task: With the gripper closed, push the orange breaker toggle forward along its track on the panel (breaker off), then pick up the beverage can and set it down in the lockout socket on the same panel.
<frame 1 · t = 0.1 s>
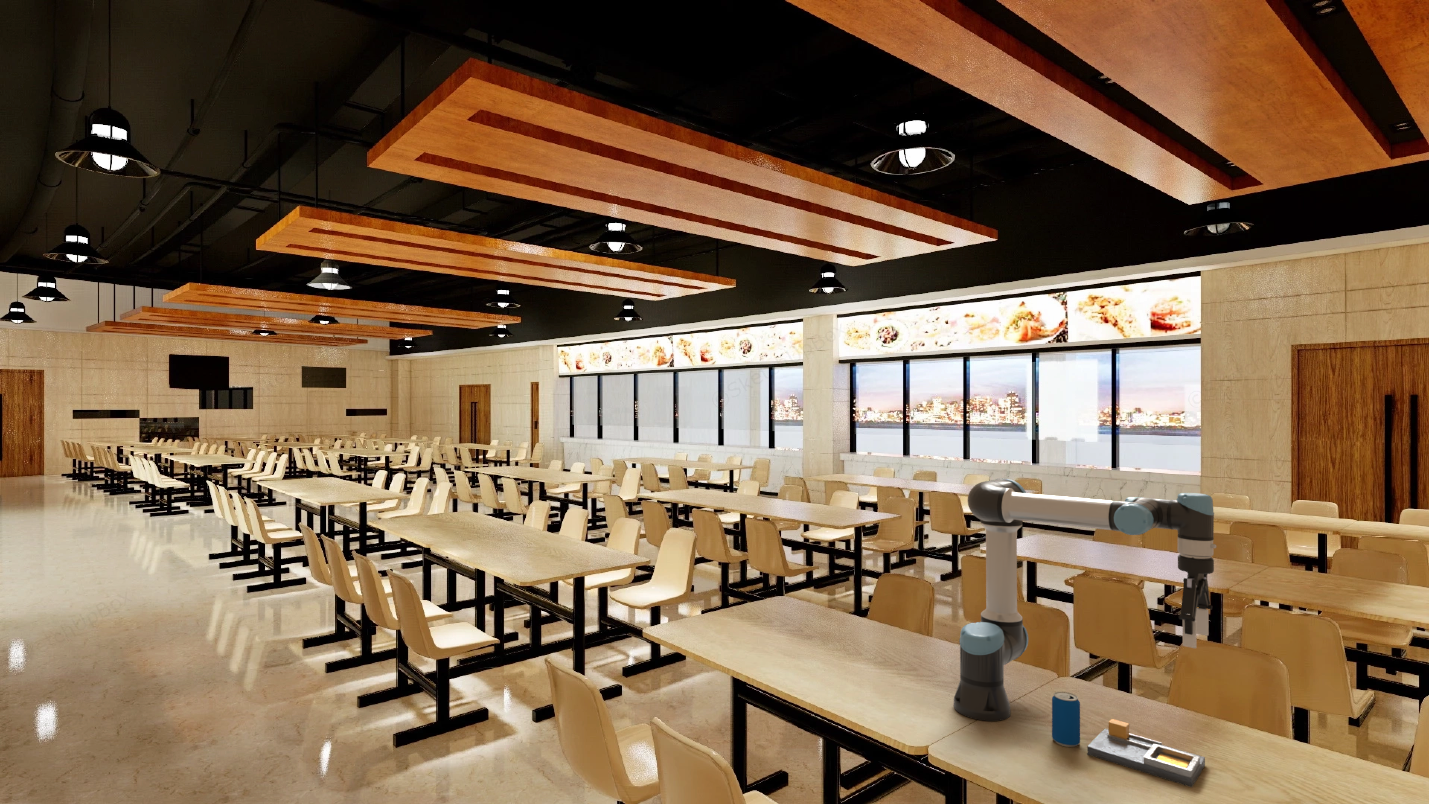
hand: (1195, 640, 179), 28 cm above the table, fingers open, 13 cm apart
beverage can: (1066, 743, 184), on the table
panel: (1145, 759, 175), on the table
breaker: (1118, 729, 183), point 4 cm above the table, slide at 0.0 cm
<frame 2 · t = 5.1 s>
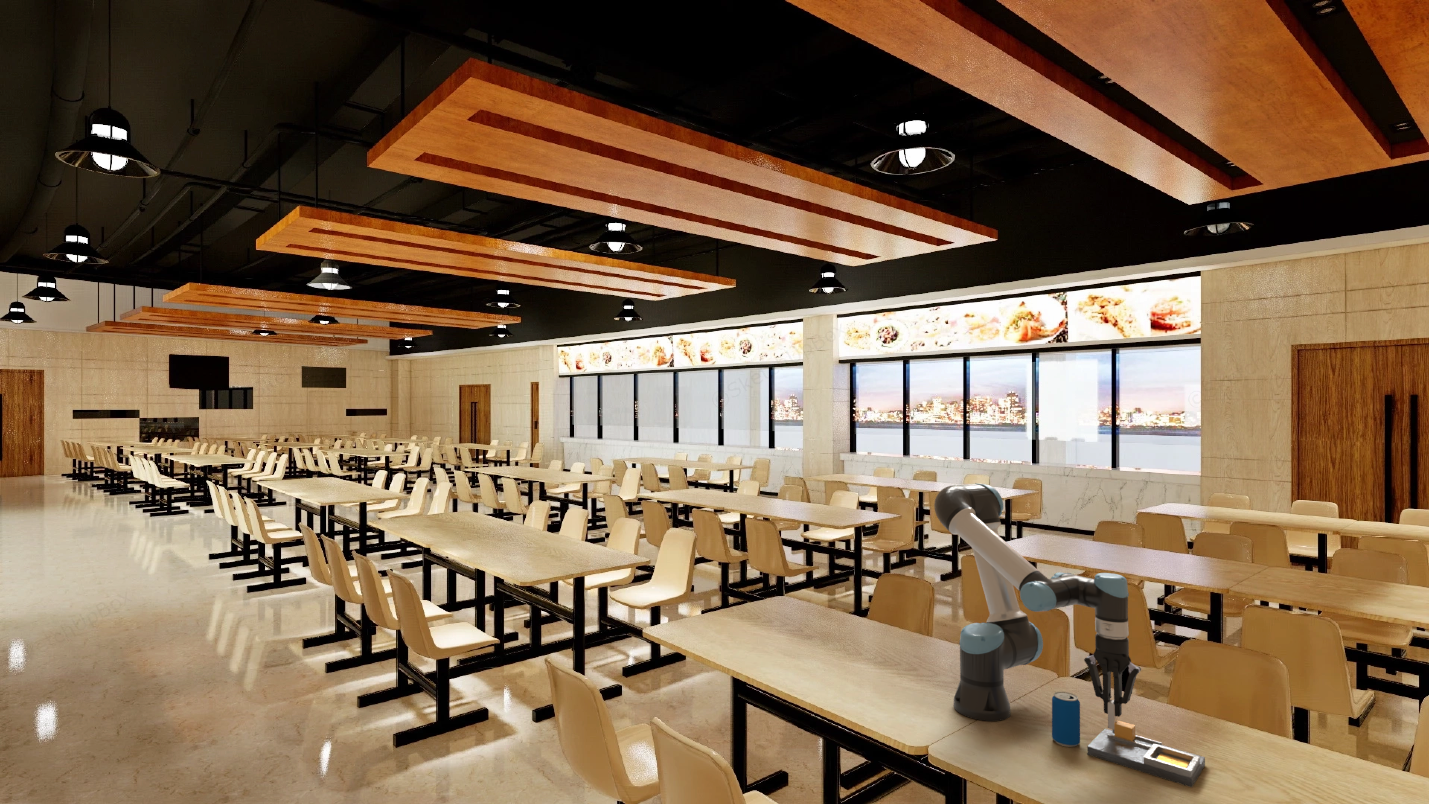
hand: (1112, 727, 184), 4 cm above the table, fingers closed
breaker: (1124, 730, 182), point 4 cm above the table, slide at 1.4 cm, touching gripper
everything else where it was.
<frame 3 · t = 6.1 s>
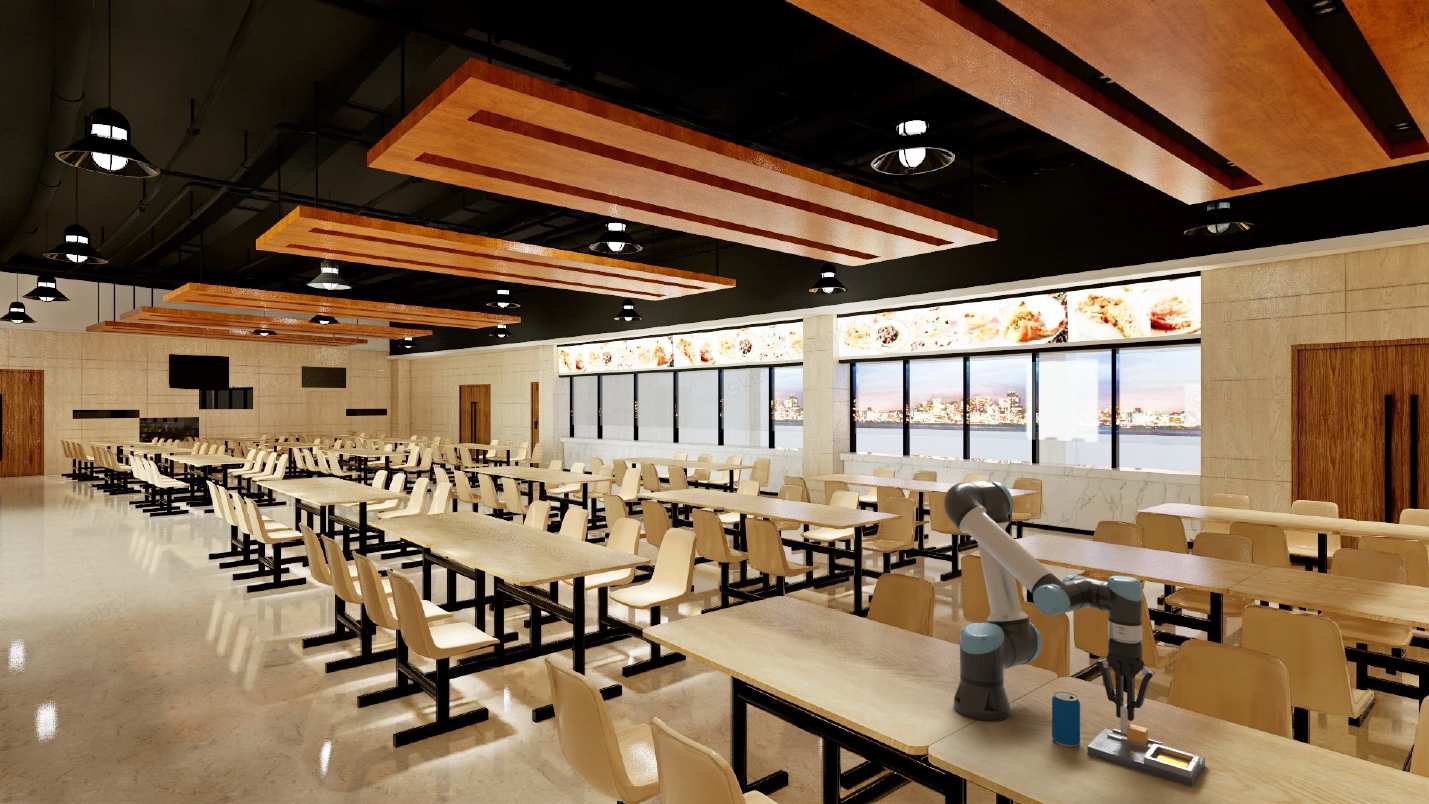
hand: (1125, 731, 182), 4 cm above the table, fingers closed
breaker: (1137, 734, 180), point 4 cm above the table, slide at 4.2 cm, touching gripper
everything else where it was.
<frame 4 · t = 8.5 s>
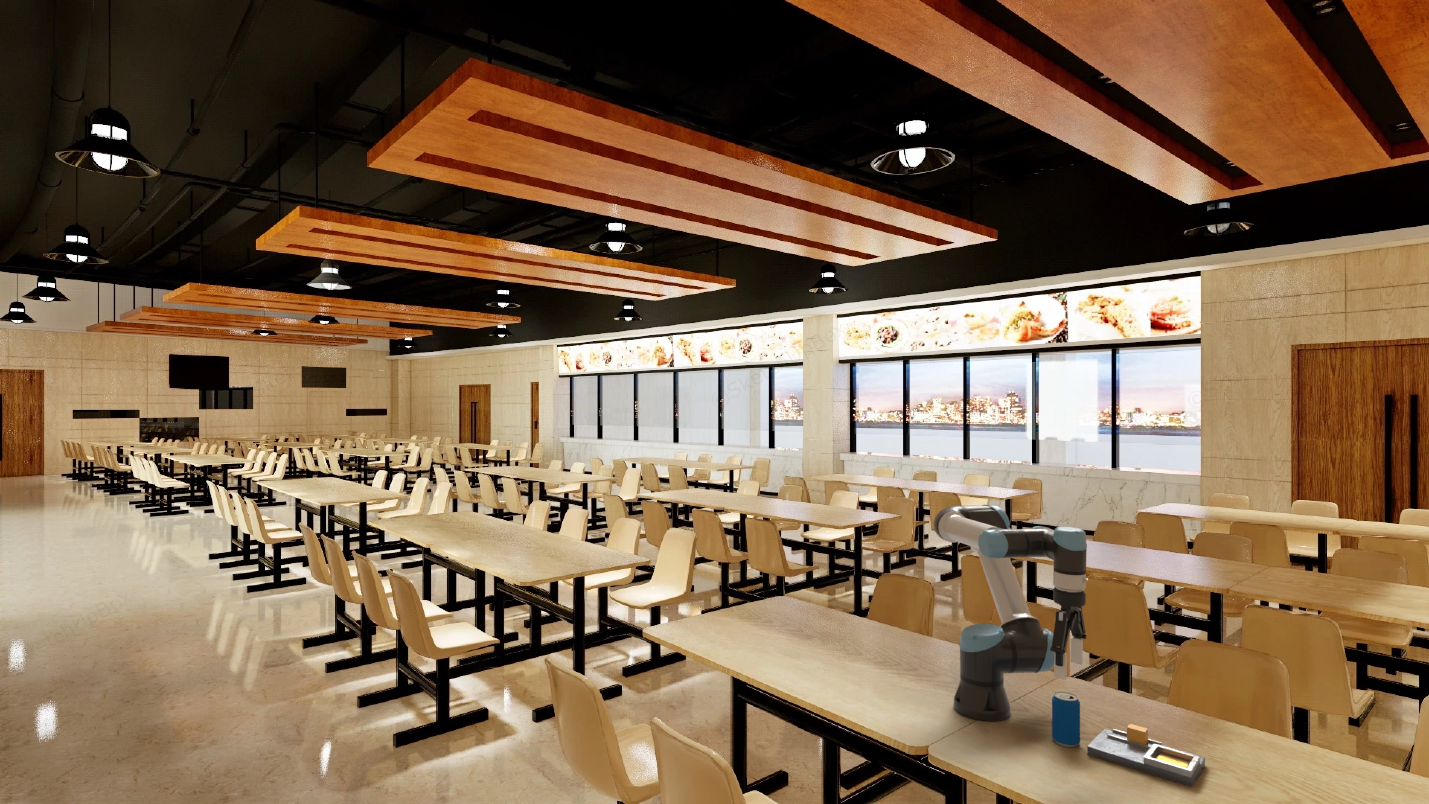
hand: (1068, 670, 184), 18 cm above the table, fingers open, 13 cm apart
breaker: (1137, 734, 180), point 4 cm above the table, slide at 4.2 cm
everything else where it was.
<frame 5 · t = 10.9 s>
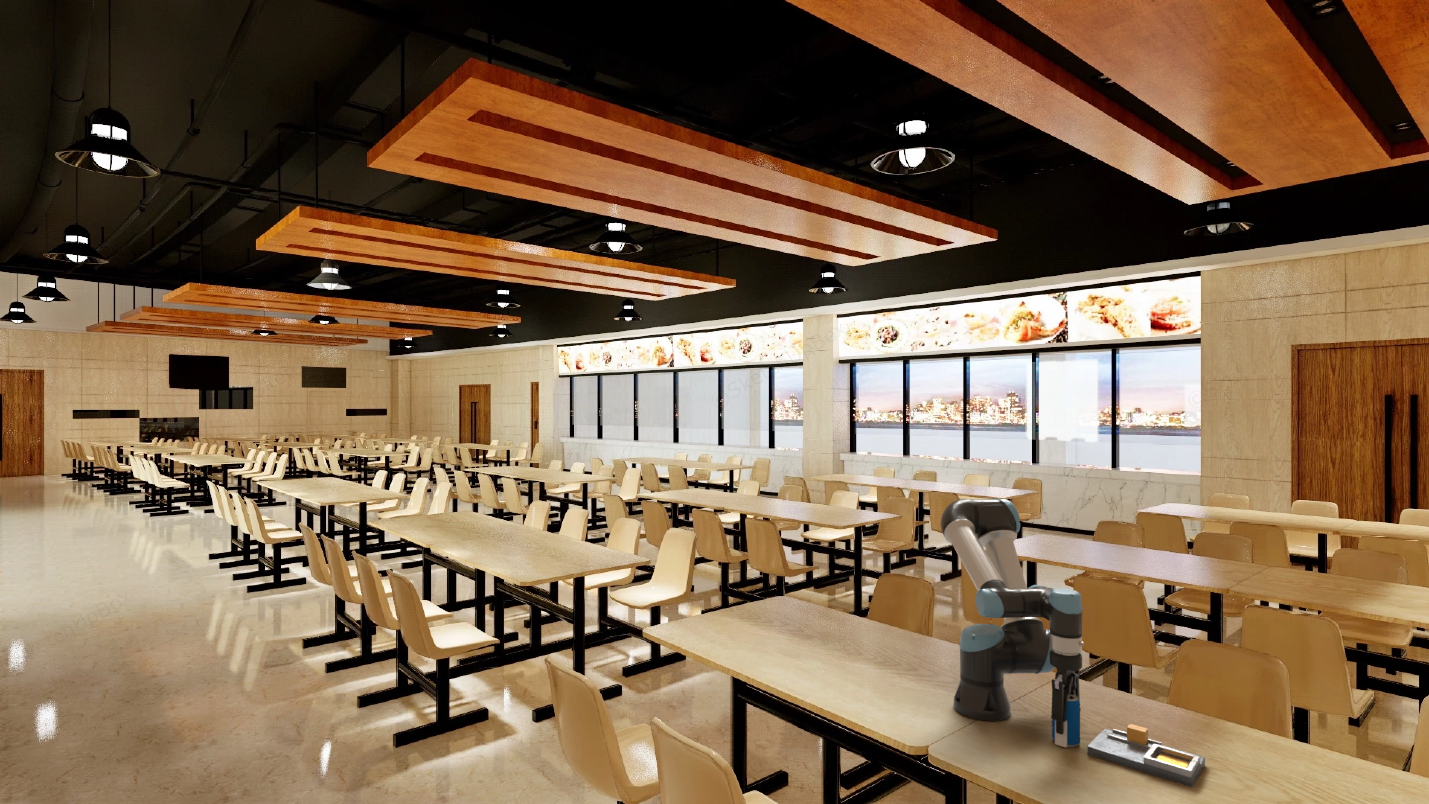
hand: (1065, 740, 184), 0 cm above the table, fingers closed on beverage can, 6 cm apart
beverage can: (1065, 743, 184), on the table, touching gripper
everything else where it was.
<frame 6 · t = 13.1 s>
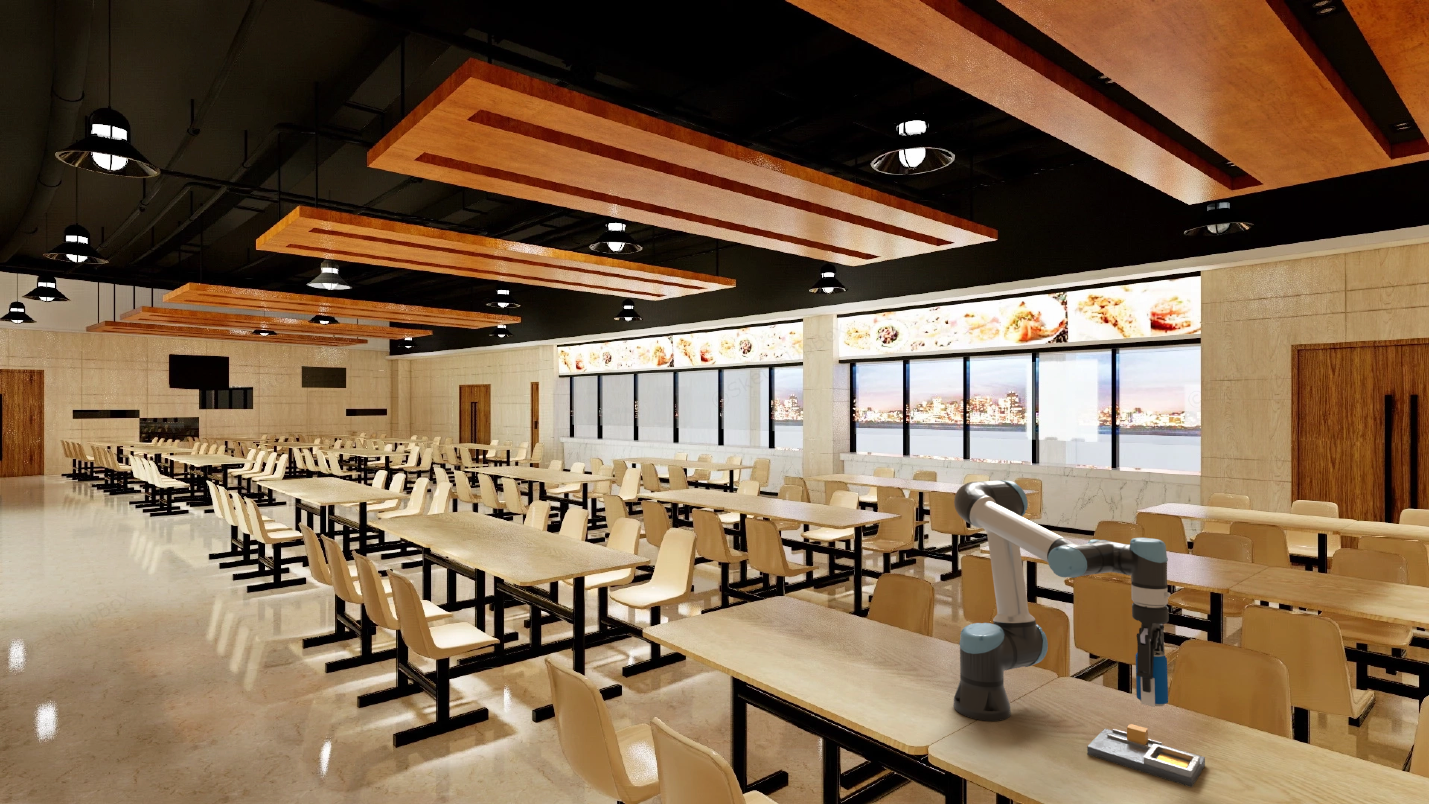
hand: (1152, 700, 171), 16 cm above the table, fingers closed on beverage can, 6 cm apart
beverage can: (1152, 703, 171), point 15 cm above the table, touching gripper
everything else where it was.
when the fingers open (4 cm above the table, at t = 15.7 s): beverage can drops 2 cm, resting on panel.
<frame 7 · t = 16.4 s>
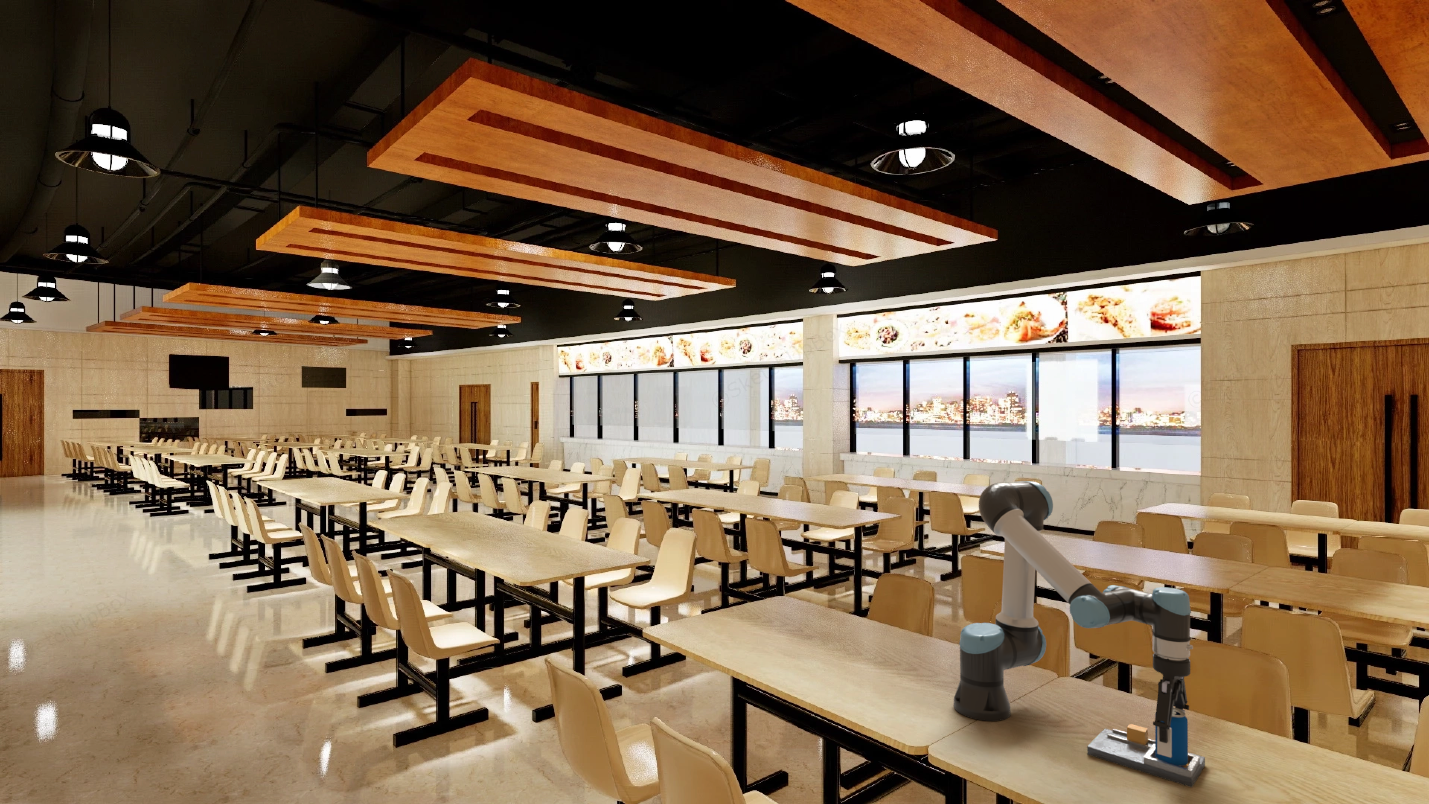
hand: (1171, 745, 169), 6 cm above the table, fingers open, 13 cm apart
beverage can: (1171, 763, 169), point 2 cm above the table, touching panel
everything else where it was.
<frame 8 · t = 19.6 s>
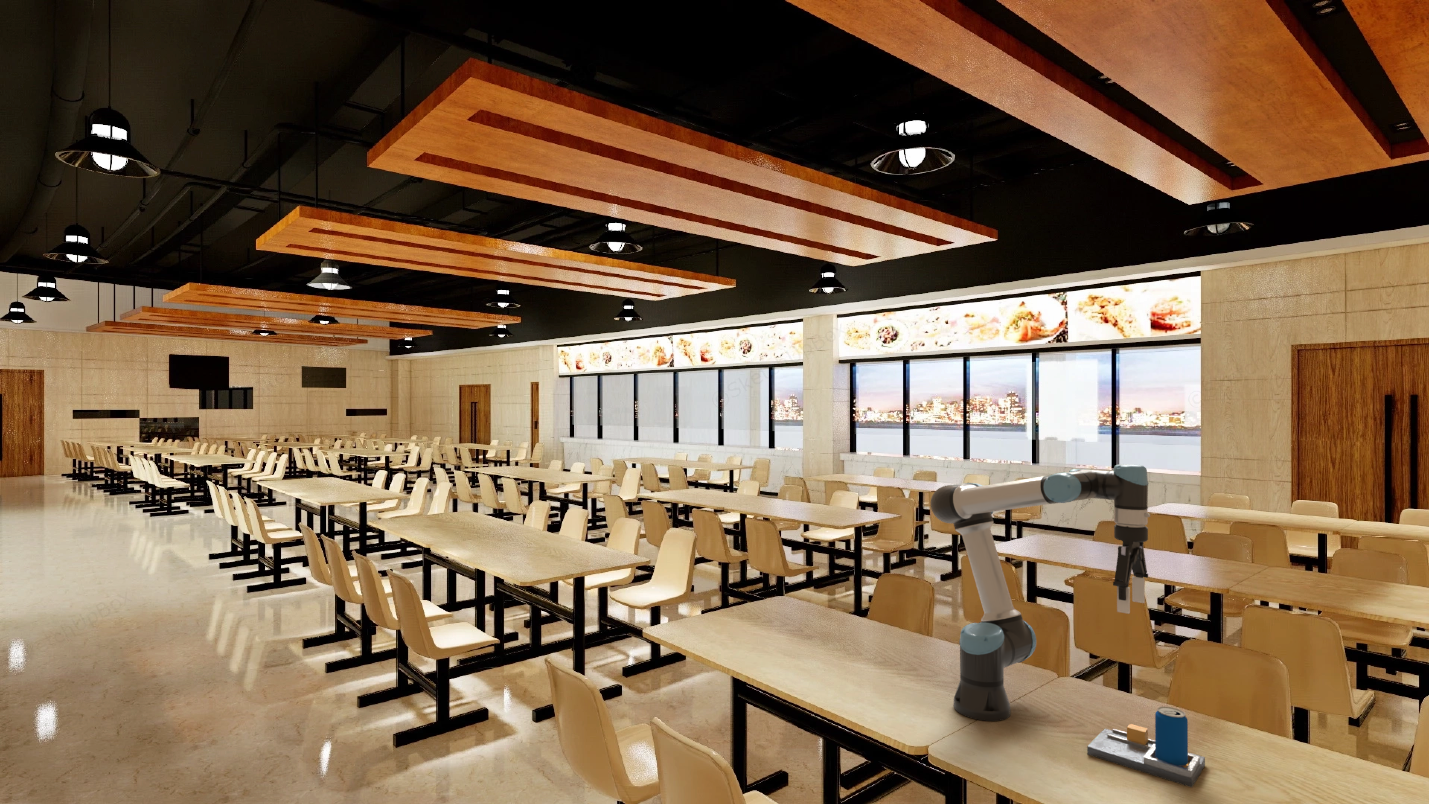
hand: (1131, 607, 184), 35 cm above the table, fingers open, 13 cm apart
nothing on the table moved.
at the end: breaker slide at 4.2 cm; beverage can 0.1 cm from the target spot, point 2.0 cm above the table; beverage can tilted 0° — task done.
